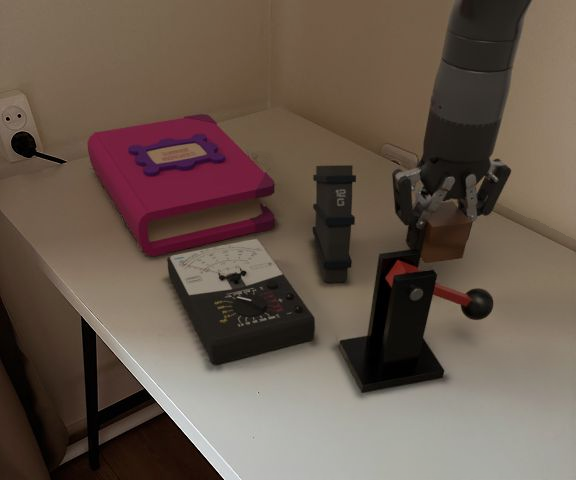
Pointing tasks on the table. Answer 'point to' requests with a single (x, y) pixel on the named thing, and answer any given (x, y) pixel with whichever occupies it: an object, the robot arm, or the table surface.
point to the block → (445, 234)
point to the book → (181, 183)
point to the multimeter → (239, 300)
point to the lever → (453, 294)
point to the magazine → (333, 220)
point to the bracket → (395, 329)
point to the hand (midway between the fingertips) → (435, 247)
